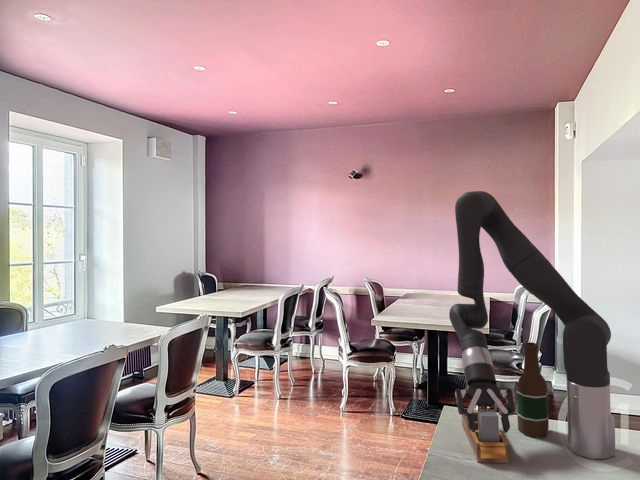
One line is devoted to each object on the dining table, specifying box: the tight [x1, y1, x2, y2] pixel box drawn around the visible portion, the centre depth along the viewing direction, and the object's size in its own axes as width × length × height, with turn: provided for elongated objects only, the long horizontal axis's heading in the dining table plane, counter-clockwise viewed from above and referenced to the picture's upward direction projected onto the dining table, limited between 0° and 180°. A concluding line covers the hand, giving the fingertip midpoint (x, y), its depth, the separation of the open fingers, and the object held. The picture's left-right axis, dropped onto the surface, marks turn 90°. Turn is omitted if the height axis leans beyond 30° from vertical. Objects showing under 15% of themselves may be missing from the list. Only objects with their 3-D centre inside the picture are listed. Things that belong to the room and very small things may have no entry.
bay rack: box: [461, 411, 510, 464], centre depth 119 cm, size 7×21×4 cm, turn 173°
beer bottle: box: [516, 341, 549, 438], centre depth 124 cm, size 8×8×24 cm
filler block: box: [477, 408, 500, 442], centre depth 113 cm, size 4×4×10 cm
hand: (490, 431), depth 111 cm, fingers open, 7 cm apart
